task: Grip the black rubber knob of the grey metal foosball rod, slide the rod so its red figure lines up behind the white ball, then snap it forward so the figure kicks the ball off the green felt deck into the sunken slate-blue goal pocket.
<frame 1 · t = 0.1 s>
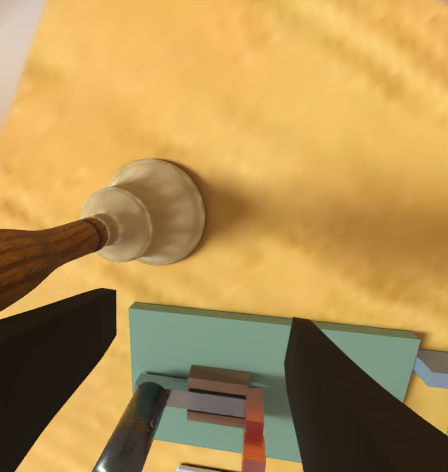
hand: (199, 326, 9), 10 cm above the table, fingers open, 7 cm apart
hand bell: (155, 213, 19), on the table, touching gripper
rail guides: (219, 389, 21), resting on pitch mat
kicker rod: (189, 431, 17), point 5 cm above the table, slide at 0.0 cm
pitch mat: (258, 384, 22), on the table
goal: (430, 407, 20), on the table
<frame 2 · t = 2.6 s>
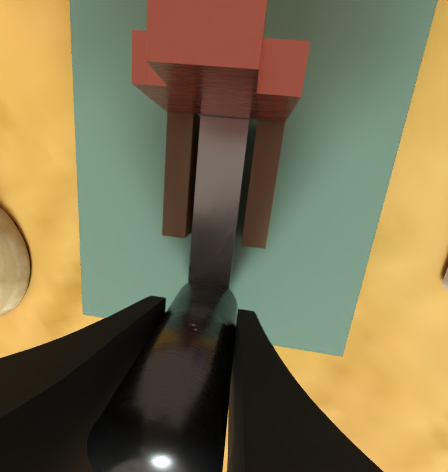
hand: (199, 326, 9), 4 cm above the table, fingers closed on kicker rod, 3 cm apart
rail guides: (222, 180, 11), resting on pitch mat
kicker rod: (203, 237, 7), point 5 cm above the table, slide at 0.0 cm, touching gripper
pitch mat: (233, 102, 11), on the table
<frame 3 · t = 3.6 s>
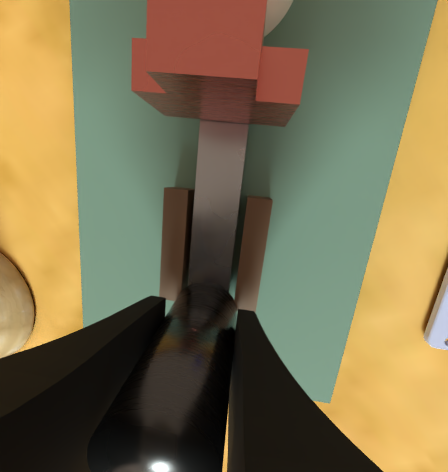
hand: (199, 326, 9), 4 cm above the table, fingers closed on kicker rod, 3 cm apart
rail guides: (216, 244, 11), resting on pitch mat
kicker rod: (202, 243, 7), point 5 cm above the table, slide at 2.8 cm, touching gripper
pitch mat: (226, 170, 12), on the table
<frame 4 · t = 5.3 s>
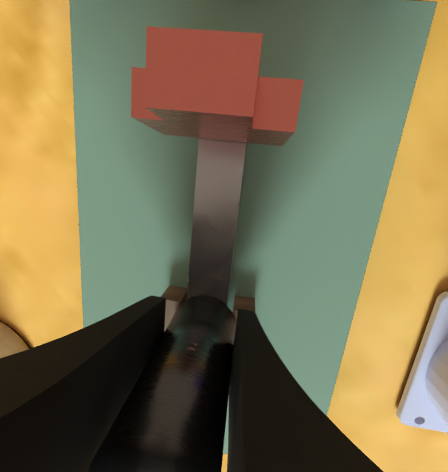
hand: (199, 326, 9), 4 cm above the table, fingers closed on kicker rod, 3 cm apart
rail guides: (207, 334, 13), resting on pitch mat
kicker rod: (200, 262, 8), point 5 cm above the table, slide at 7.2 cm, touching gripper
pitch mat: (216, 266, 13), on the table
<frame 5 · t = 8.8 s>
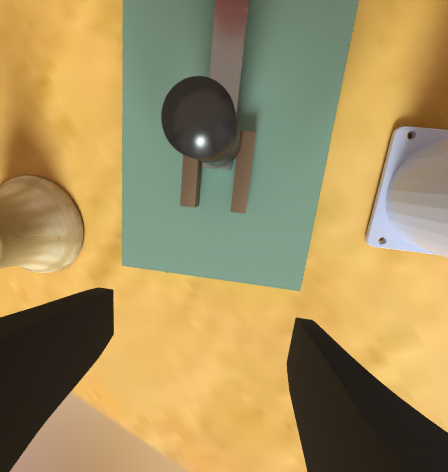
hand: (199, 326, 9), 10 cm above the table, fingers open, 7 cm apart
hand bell: (40, 225, 20), on the table
rail guides: (218, 171, 16), resting on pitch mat
kicker rod: (220, 51, 11), point 5 cm above the table, slide at 7.2 cm
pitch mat: (225, 120, 17), on the table
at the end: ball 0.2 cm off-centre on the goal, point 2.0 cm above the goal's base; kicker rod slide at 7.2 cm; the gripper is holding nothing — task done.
